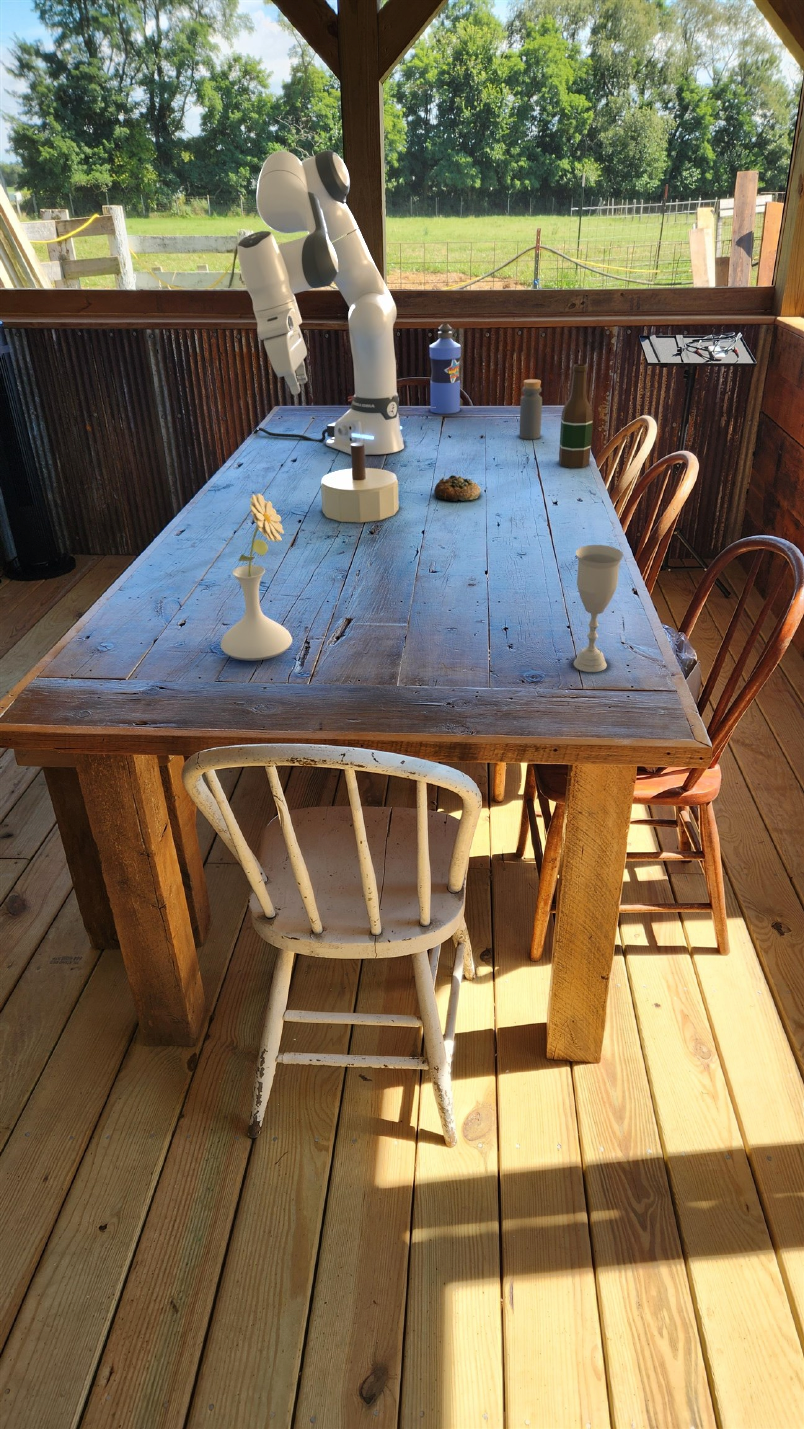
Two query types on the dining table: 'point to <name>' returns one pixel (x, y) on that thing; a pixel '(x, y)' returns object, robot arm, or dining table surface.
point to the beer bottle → (576, 423)
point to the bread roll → (456, 489)
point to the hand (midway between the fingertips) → (300, 387)
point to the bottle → (530, 410)
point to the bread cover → (359, 491)
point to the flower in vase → (256, 597)
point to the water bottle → (445, 373)
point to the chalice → (596, 595)
